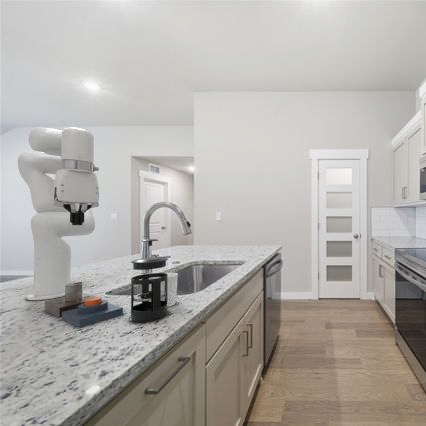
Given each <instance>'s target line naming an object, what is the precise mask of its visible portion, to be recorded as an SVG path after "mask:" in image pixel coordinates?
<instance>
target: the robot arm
mask: <svg viewBox="0 0 426 426" xmlns="http://www.w3.org/2000/svg"><path fill="white" fill-rule="evenodd" d="M28 144H29V146H30V148H31V149H32V151H23V152H22V153H20V154H19V155H18V157H17V168H18V173H19V174H20V176H21V178H22V179H23V181H24V182H25V184H26V185H27V186H28V188H29V192H30V196H31V197H30V198H31V203H32V207H33V209H34V211H35V212H36V213H35V214H34V215H32V217H31V218H30V228H31V229H30V230H31V233H32V238H33V292H32V293H30V294H28V295H27V296H26V299H27V300H28V301H46V300H53V299H59V298H64V297H65V285H66V284H70V283H71V257H72V256H71V251H72V250H71V246H70V245H69V243H68V242H66V241H65V240H64V239H63V238H65V237H79V236H88V235H91V234H93V232H94V231H95V229H96V221H95V217H94V213H93V211H92V208H94V209H95V208H98V207H99V206H100V204H99V200H100V188H99V181H98V177H97V174H96V173H95V172H99V170H100V168H99V166H95V164H94V163H95V162H94V161H95V159H94V154H95V149H94V148H95V146H94V145H95V137H94V134H93V133H92V132H91V131H89V130H88V129H87V130H86V129H84V128H80V127H70V126H69V127H64V128H62V130H58V129H55V128H47V127H41V126H38V127H37V126H35V127H33V128H31V130H30V131H29V134H28ZM49 175H55V176H54V178H53V177H52V176H49Z"/></svg>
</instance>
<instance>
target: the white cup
mask: <svg viewBox="0 0 426 426" xmlns="http://www.w3.org/2000/svg"><path fill="white" fill-rule="evenodd" d="M165 273H166V274H168V279H167V308H169V307H172V306H174V305H176V303H177V293H178V292H177V291H178V279H179V277H178V276H179V274H178V273H177V272H165ZM156 278H161V277H153V278H151V279H156ZM161 291H164V292H165V281H163V282H161ZM161 301H165V296H164V297H162V298H161Z"/></svg>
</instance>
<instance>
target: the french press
mask: <svg viewBox="0 0 426 426" xmlns="http://www.w3.org/2000/svg"><path fill="white" fill-rule="evenodd" d="M158 241H160V240H159V239H158V238H157V239H156V238H146V239H142V240H141V242H147V243H148V247H149V257H144V258H143V257H142V258H138V259H133V260H131V264H132V268H133V269H132V270H136V271H148V270H149V271H148V273H144V274H137V275H135V276H133V277H131V279H130V317H129V322H130V323H132V324H146V323H153V322H157V321H159V320H162V319H164V318H165V317H167V316H168V315H169V311H168V307H167V279H168V274H166V273H167V272H152V270H157V269H161V268H165V267H166V266H167V261H168V260H169V259H168V257H158V256H155V257H153V256H152V246H153V242H158ZM153 277H161V278H156V279H151V278H153ZM163 281H165V292H164V291H161V282H163ZM135 285H136V286H141V292H140V293H138V294H136V295H135V294H134V290H135V289H134V286H135ZM164 296H165V301H161V298H162V297H164ZM134 302H138V304H135V305H134ZM139 302H140V303H139Z"/></svg>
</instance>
